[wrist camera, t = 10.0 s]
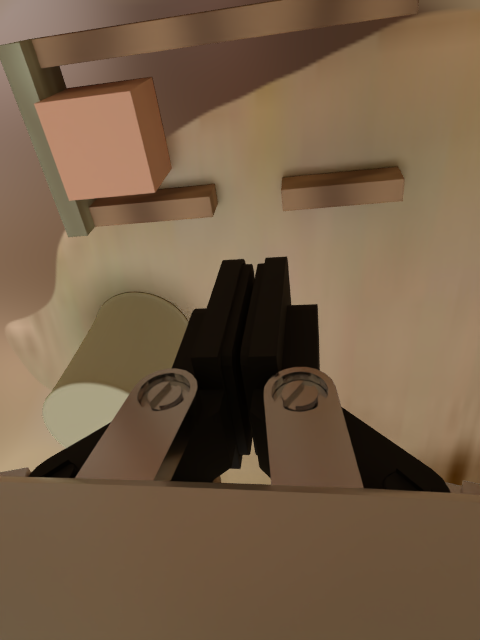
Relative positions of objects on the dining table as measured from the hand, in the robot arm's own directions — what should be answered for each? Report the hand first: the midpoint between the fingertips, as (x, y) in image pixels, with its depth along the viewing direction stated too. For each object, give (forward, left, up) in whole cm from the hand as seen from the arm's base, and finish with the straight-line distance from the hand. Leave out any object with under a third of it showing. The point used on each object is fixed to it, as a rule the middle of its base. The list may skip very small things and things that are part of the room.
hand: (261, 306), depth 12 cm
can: (+14, +18, -23) cm, 32 cm away
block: (+11, 0, -23) cm, 26 cm away
